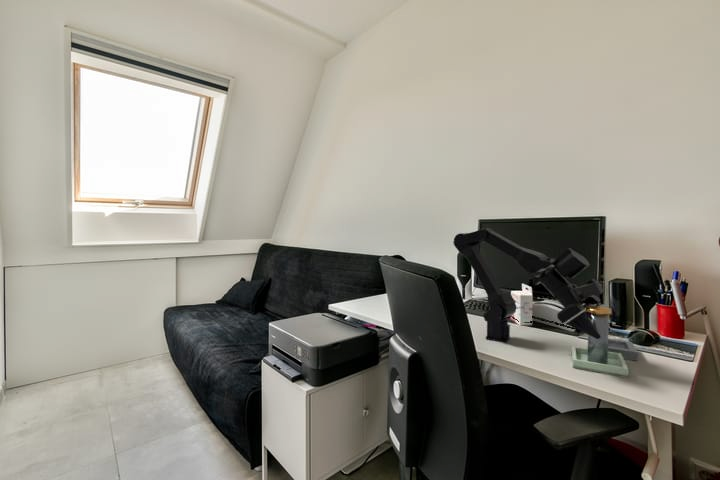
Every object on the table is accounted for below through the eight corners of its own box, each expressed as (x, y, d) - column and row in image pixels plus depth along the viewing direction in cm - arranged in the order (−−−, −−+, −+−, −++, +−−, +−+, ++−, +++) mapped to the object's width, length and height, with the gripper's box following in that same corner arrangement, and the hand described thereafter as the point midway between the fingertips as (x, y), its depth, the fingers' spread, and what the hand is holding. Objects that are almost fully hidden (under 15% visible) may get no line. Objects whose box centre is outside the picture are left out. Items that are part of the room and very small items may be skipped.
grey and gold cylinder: (581, 361, 92) (582, 307, 91) (590, 356, 95) (591, 304, 94) (604, 368, 87) (606, 311, 86) (613, 363, 90) (615, 308, 89)
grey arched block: (581, 329, 121) (576, 305, 119) (574, 335, 119) (568, 311, 117) (539, 318, 136) (534, 296, 134) (532, 323, 134) (526, 301, 132)
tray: (573, 367, 89) (573, 359, 89) (571, 353, 99) (571, 346, 99) (628, 377, 83) (628, 369, 83) (620, 361, 93) (621, 353, 93)
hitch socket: (595, 354, 98) (596, 346, 98) (593, 344, 106) (593, 336, 106) (637, 361, 93) (637, 352, 93) (631, 349, 101) (631, 341, 101)
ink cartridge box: (509, 319, 135) (510, 283, 134) (522, 319, 135) (522, 283, 134) (519, 325, 126) (520, 287, 125) (532, 325, 126) (533, 287, 125)
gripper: (571, 274, 87) (623, 325, 79) (592, 267, 99) (639, 311, 91) (538, 299, 93) (583, 348, 85) (562, 289, 105) (604, 332, 97)
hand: (604, 334), depth 89 cm, fingers open, 9 cm apart
